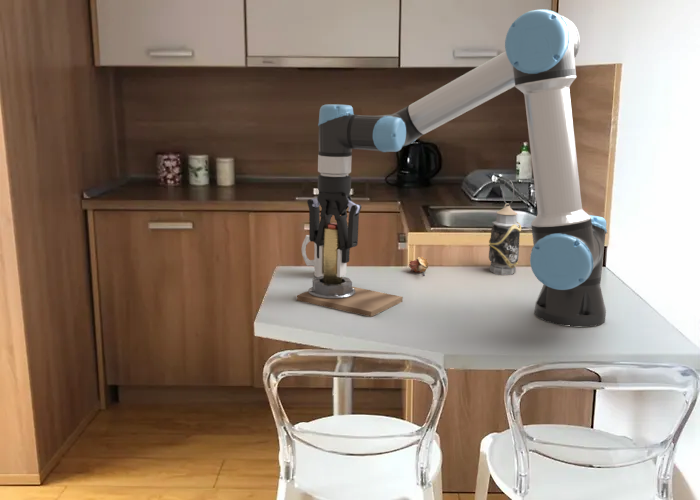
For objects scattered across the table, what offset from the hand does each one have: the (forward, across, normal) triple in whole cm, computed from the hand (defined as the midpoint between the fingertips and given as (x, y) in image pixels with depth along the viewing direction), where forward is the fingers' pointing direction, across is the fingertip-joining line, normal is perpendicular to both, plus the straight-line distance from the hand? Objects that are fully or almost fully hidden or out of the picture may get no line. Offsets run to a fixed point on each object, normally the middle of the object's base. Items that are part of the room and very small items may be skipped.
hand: (332, 273), depth 179 cm
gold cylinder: (+3, 0, 0) cm, 3 cm away
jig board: (+6, -5, 0) cm, 7 cm away
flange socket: (+4, 0, 0) cm, 4 cm away
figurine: (+6, -6, -32) cm, 33 cm away
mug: (+6, +13, -14) cm, 20 cm away
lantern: (+6, -23, -48) cm, 54 cm away
